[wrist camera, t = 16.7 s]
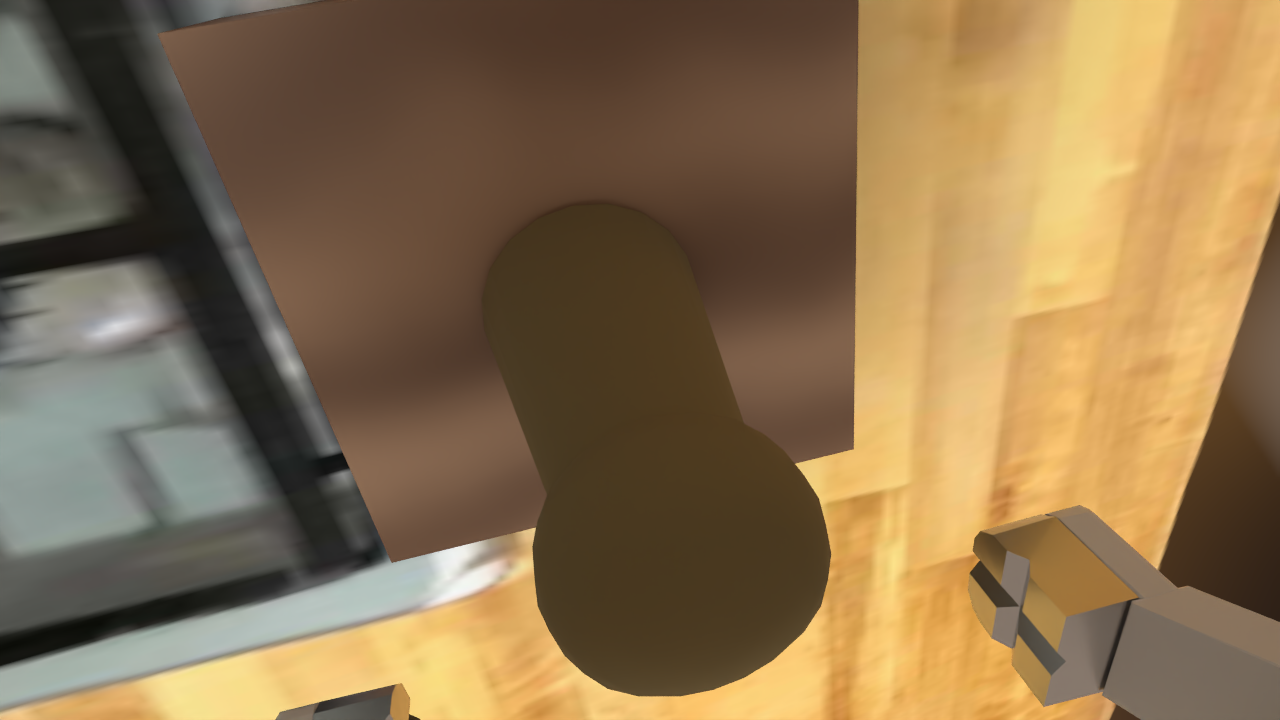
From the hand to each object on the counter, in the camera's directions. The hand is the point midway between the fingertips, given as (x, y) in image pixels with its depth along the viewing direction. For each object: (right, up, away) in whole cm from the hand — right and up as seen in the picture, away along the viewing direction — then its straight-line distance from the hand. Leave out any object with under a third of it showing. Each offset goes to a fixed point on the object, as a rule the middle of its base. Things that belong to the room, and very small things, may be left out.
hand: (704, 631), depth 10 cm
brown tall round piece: (-2, +5, +10) cm, 12 cm away
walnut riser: (-3, +8, +15) cm, 17 cm away
